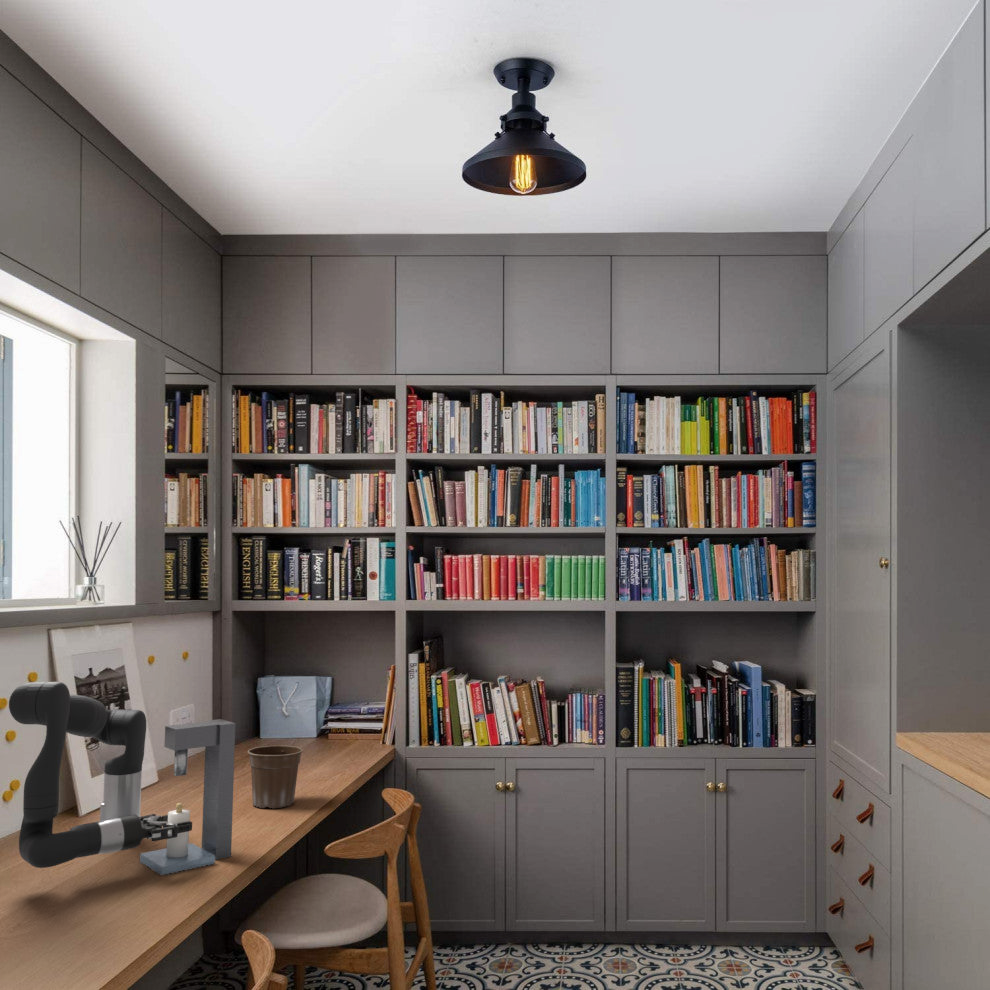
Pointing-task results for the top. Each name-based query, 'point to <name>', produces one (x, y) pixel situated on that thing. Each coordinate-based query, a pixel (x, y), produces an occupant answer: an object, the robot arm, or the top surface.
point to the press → (216, 792)
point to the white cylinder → (180, 843)
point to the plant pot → (274, 775)
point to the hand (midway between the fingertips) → (184, 821)
